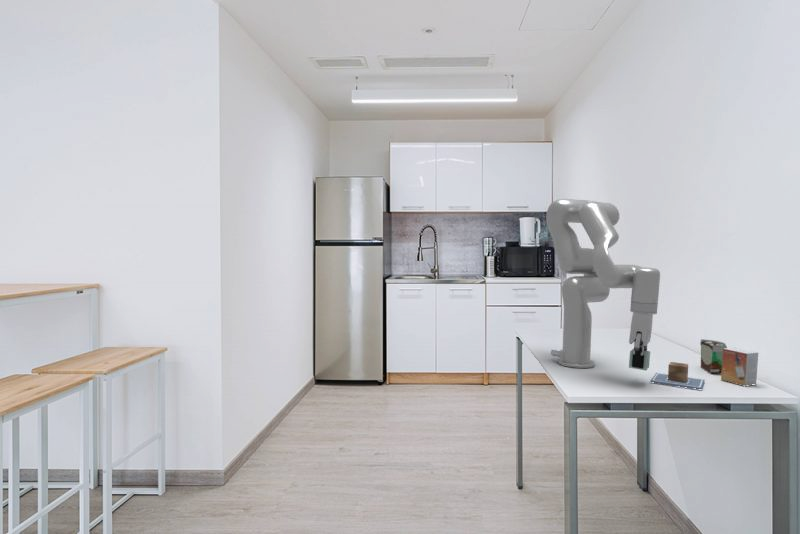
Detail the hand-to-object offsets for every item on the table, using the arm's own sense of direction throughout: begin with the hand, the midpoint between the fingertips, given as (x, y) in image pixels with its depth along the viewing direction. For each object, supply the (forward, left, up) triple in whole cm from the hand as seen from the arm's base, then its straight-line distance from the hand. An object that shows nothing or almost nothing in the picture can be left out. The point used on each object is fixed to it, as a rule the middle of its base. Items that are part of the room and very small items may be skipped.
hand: (639, 364), depth 164 cm
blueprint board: (+10, +9, -6) cm, 15 cm away
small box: (+26, +21, -6) cm, 34 cm away
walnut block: (+10, +9, -5) cm, 15 cm away
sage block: (0, 0, -1) cm, 1 cm away
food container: (+19, +34, -6) cm, 40 cm away
